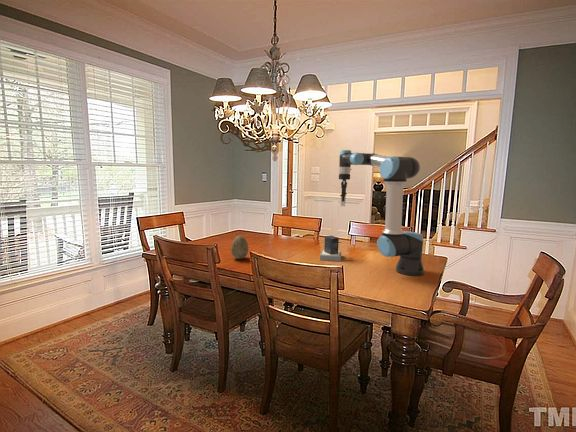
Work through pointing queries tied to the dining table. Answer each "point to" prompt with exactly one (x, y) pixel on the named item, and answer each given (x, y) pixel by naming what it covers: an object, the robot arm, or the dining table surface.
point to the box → (331, 245)
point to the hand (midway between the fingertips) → (343, 205)
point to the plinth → (330, 256)
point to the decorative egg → (239, 247)
